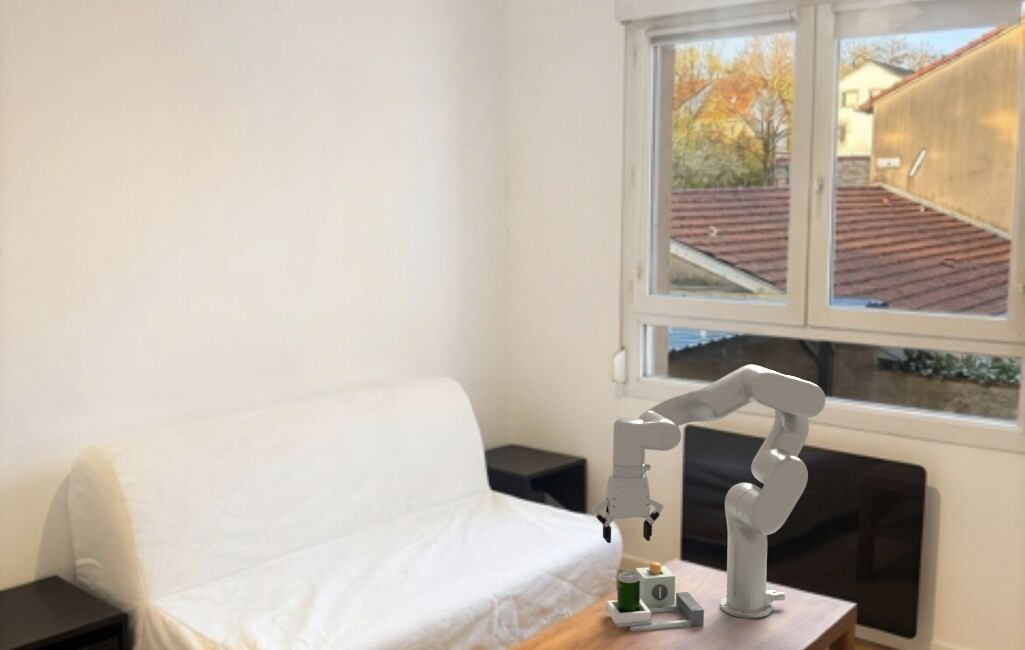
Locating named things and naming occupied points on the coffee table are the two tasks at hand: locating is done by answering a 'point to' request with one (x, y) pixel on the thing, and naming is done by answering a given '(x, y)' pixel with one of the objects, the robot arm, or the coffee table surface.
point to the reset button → (655, 568)
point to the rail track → (687, 610)
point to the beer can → (628, 592)
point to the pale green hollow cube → (657, 587)
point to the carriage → (629, 615)
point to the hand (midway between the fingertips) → (627, 540)
